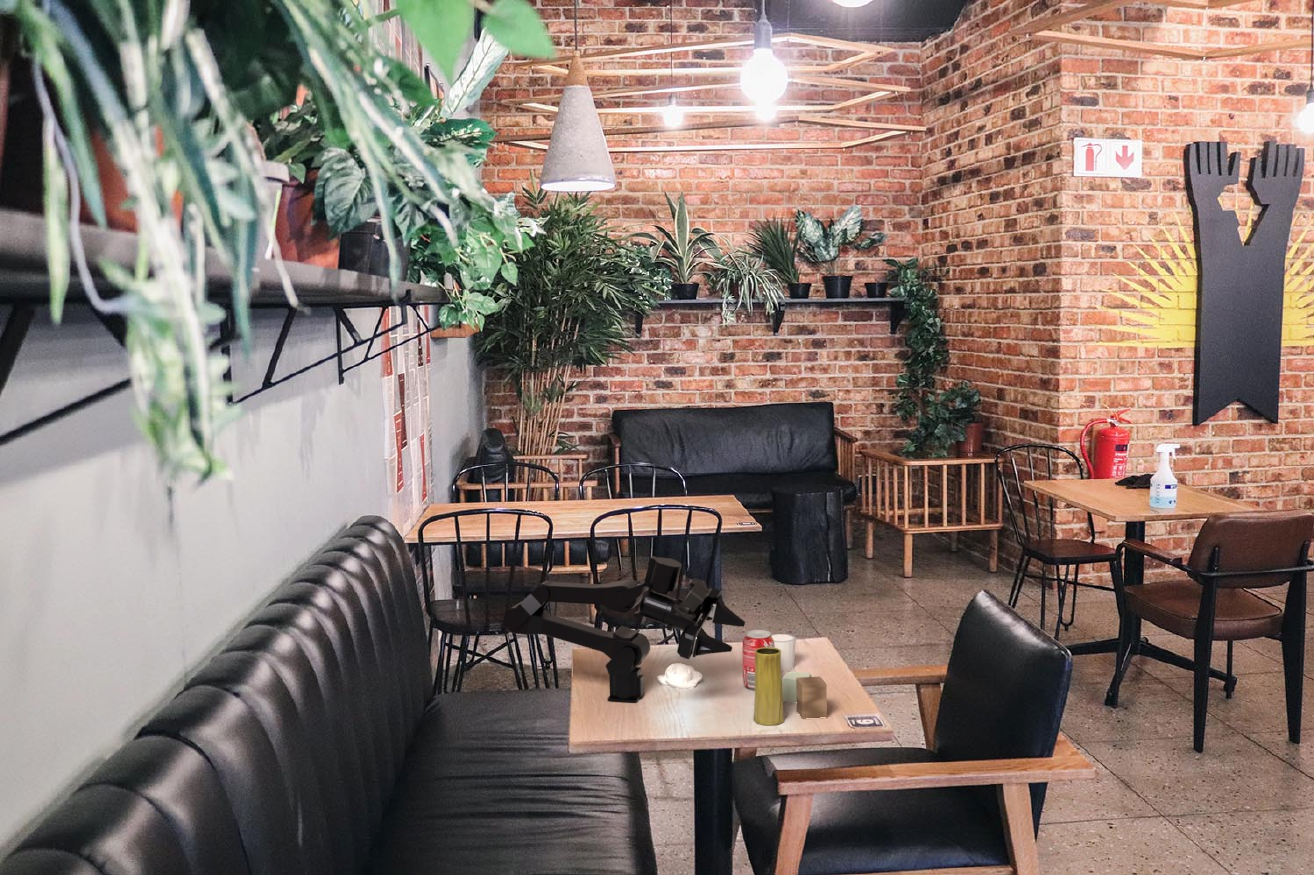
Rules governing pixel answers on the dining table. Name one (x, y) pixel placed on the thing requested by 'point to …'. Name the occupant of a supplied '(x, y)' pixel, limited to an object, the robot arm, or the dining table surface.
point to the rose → (680, 676)
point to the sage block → (791, 685)
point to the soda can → (753, 653)
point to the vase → (768, 687)
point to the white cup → (785, 650)
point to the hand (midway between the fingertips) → (738, 636)
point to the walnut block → (811, 697)
